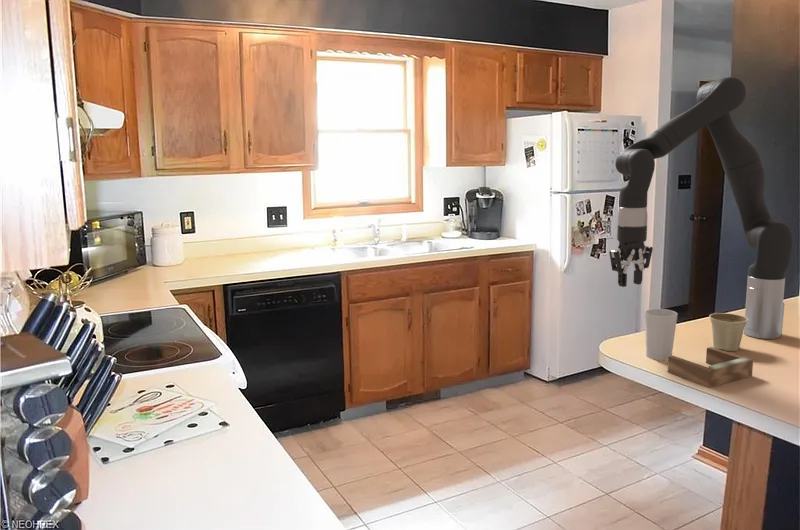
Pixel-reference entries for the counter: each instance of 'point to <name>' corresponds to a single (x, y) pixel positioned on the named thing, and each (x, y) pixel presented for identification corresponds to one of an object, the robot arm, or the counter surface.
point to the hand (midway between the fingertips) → (629, 284)
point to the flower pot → (727, 330)
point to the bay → (712, 368)
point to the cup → (660, 333)
